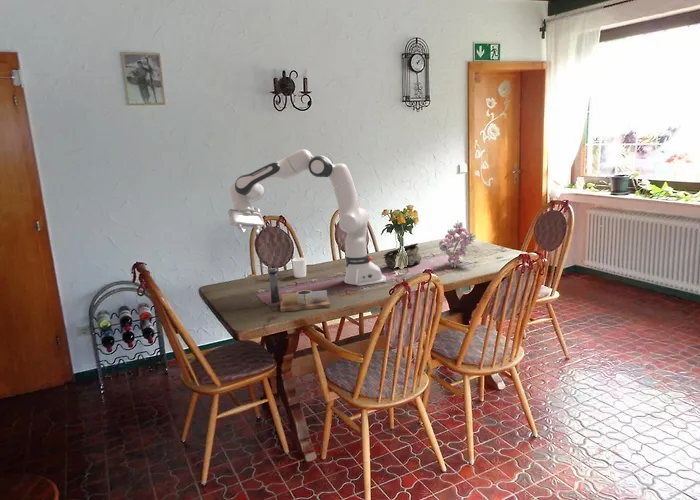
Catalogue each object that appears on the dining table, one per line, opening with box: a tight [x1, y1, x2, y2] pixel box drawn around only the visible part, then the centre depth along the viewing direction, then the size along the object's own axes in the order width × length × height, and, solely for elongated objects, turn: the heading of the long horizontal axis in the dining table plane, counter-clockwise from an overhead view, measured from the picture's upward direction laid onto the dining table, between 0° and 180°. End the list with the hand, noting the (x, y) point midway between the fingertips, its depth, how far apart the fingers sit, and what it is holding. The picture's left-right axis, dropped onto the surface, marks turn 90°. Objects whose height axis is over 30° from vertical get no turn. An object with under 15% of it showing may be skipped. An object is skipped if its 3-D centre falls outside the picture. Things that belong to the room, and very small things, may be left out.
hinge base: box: [279, 296, 331, 313], centre depth 252 cm, size 23×11×2 cm, turn 98°
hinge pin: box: [267, 267, 281, 303], centre depth 259 cm, size 5×5×16 cm
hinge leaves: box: [281, 289, 328, 305], centre depth 251 cm, size 21×8×5 cm, turn 98°
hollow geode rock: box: [383, 242, 423, 270], centre depth 311 cm, size 28×13×15 cm
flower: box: [436, 220, 476, 268], centre depth 308 cm, size 20×22×25 cm
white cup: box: [291, 257, 307, 279], centre depth 302 cm, size 8×8×10 cm
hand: (250, 233), depth 280 cm, fingers open, 8 cm apart
